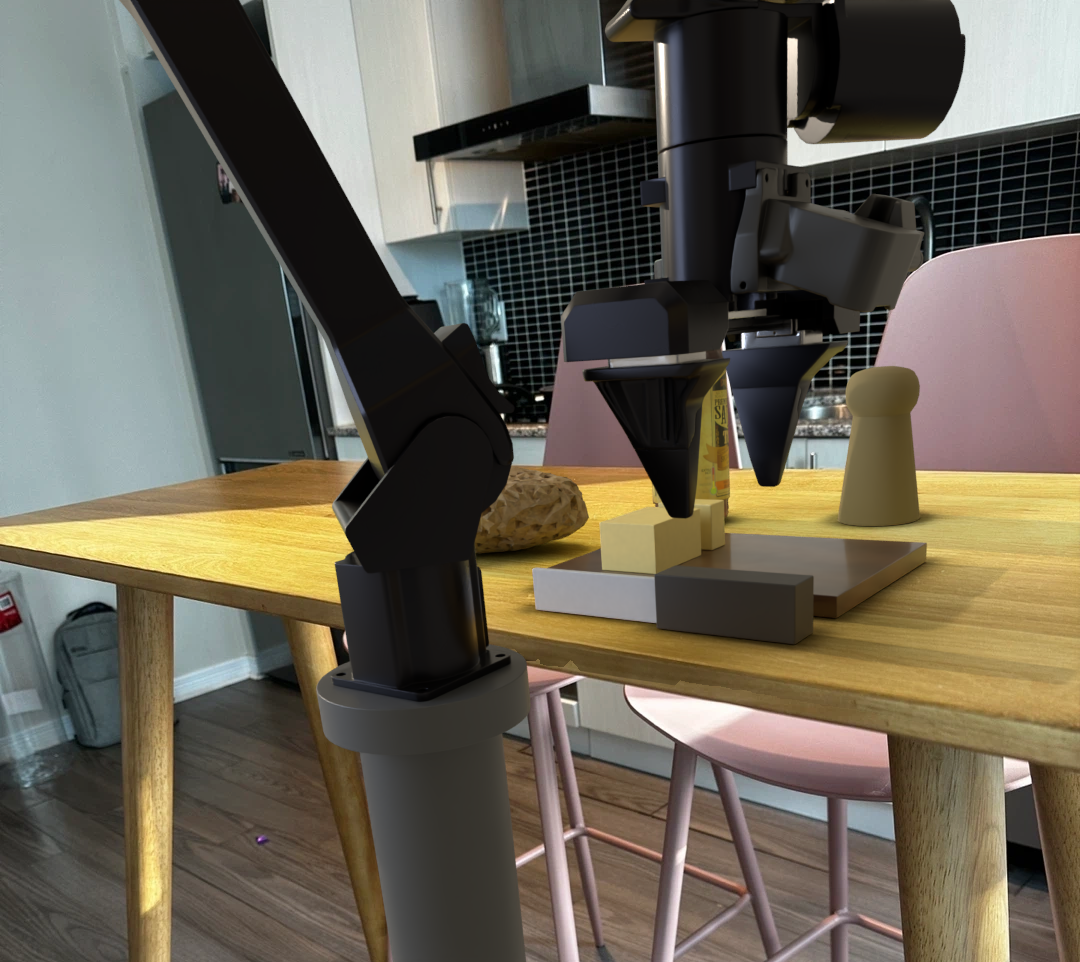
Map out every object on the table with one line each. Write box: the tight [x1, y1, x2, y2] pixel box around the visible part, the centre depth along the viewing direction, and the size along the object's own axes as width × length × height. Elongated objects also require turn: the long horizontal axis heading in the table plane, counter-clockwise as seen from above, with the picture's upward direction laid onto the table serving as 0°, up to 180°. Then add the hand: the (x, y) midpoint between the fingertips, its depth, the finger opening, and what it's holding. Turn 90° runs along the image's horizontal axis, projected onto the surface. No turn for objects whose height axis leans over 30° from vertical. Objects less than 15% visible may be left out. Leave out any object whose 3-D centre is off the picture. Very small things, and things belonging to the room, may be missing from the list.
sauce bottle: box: [651, 258, 731, 520], centre depth 80 cm, size 6×6×20 cm
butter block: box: [598, 506, 701, 574], centre depth 65 cm, size 6×4×3 cm
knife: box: [531, 565, 814, 645], centre depth 56 cm, size 2×17×3 cm, turn 52°
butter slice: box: [658, 499, 726, 550], centre depth 68 cm, size 2×4×3 cm, turn 52°
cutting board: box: [547, 532, 928, 619], centre depth 65 cm, size 14×20×1 cm
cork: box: [837, 365, 921, 527], centre depth 77 cm, size 6×6×11 cm
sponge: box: [475, 465, 590, 554], centre depth 80 cm, size 13×8×20 cm
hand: (728, 500), depth 51 cm, fingers open, 9 cm apart
